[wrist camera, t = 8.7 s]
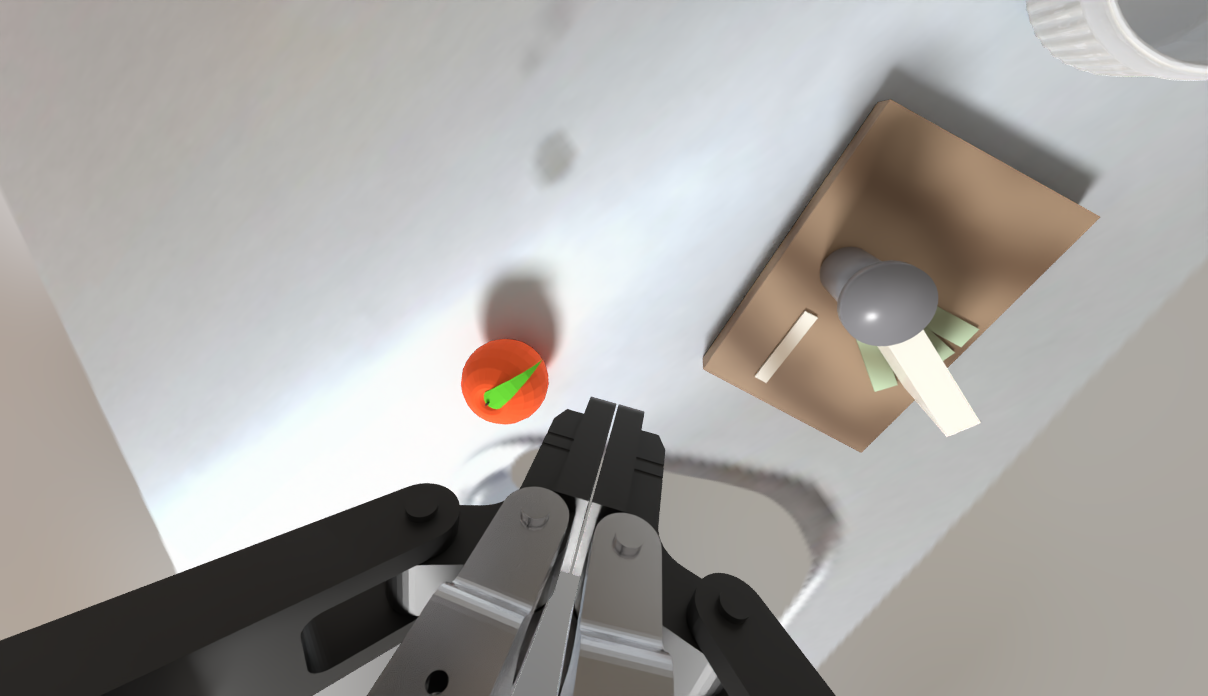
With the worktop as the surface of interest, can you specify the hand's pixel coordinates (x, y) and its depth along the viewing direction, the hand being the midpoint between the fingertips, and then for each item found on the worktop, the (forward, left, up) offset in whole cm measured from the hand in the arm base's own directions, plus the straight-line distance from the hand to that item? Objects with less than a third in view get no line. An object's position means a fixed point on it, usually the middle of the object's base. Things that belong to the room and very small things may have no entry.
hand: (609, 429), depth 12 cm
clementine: (+14, -6, -23) cm, 28 cm away
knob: (-3, +14, -21) cm, 26 cm away
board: (-4, +14, -23) cm, 27 cm away
